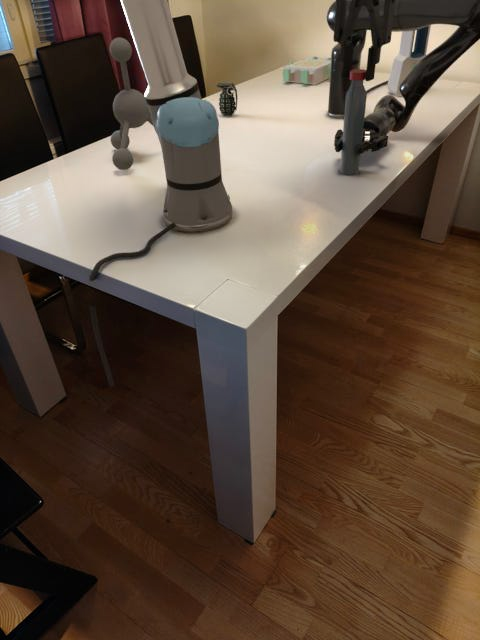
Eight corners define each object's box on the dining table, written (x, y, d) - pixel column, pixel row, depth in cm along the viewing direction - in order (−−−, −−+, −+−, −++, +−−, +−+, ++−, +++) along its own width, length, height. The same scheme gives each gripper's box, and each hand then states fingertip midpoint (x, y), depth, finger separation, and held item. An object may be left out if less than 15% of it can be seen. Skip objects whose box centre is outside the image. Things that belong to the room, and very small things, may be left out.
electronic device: (396, 96, 178) (409, -2, 159) (385, 92, 183) (397, -3, 165) (426, 92, 180) (443, -5, 162) (415, 88, 186) (430, -6, 167)
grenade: (217, 117, 168) (214, 86, 162) (221, 112, 172) (219, 82, 166) (235, 117, 166) (233, 86, 160) (239, 113, 171) (238, 82, 165)
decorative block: (305, 54, 216) (346, 57, 206) (304, 70, 220) (345, 74, 210) (274, 66, 200) (317, 69, 190) (274, 83, 204) (316, 87, 194)
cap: (348, 77, 113) (348, 69, 112) (364, 76, 112) (365, 68, 111) (350, 81, 110) (351, 73, 109) (367, 80, 109) (368, 72, 108)
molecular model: (196, 161, 135) (182, 37, 116) (116, 176, 129) (90, 48, 110) (173, 138, 152) (159, 27, 134) (102, 149, 146) (77, 35, 128)
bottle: (362, 171, 124) (373, 73, 110) (349, 176, 122) (358, 76, 108) (349, 166, 127) (357, 70, 113) (336, 171, 125) (343, 73, 111)
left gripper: (320, -47, 99) (314, 78, 113) (405, -51, 90) (387, 86, 104) (338, -49, 104) (331, 71, 118) (421, -52, 94) (402, 79, 108)
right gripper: (347, 112, 131) (321, 130, 119) (400, 118, 124) (377, 137, 113) (345, 140, 135) (319, 160, 124) (396, 147, 129) (374, 169, 118)
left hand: (357, 78), depth 111 cm, fingers open, 5 cm apart
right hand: (347, 149), depth 119 cm, fingers closed on bottle, 4 cm apart
